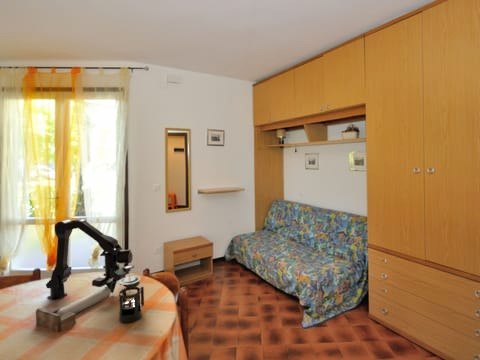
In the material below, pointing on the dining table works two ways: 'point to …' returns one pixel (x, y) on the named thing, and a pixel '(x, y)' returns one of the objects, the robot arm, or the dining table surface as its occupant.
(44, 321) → the socket
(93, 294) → the tube
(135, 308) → the french press
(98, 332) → the dining table surface
